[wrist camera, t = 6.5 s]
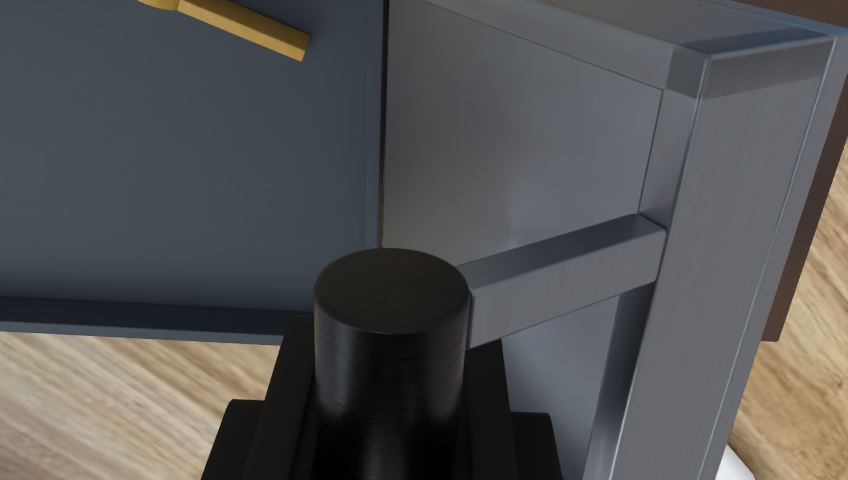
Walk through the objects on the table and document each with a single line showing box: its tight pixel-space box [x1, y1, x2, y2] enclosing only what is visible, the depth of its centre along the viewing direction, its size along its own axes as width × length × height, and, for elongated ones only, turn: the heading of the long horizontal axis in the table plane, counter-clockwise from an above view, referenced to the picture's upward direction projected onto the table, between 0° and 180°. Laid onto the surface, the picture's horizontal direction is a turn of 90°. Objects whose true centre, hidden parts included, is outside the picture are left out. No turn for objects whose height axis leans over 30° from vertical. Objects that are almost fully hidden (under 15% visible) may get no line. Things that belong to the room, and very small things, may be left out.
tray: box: [0, 0, 388, 346], centre depth 32 cm, size 17×23×2 cm
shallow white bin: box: [314, 0, 848, 480], centre depth 15 cm, size 12×11×8 cm
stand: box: [731, 0, 848, 342], centre depth 26 cm, size 12×12×11 cm
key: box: [138, 0, 310, 61], centre depth 28 cm, size 3×7×1 cm
